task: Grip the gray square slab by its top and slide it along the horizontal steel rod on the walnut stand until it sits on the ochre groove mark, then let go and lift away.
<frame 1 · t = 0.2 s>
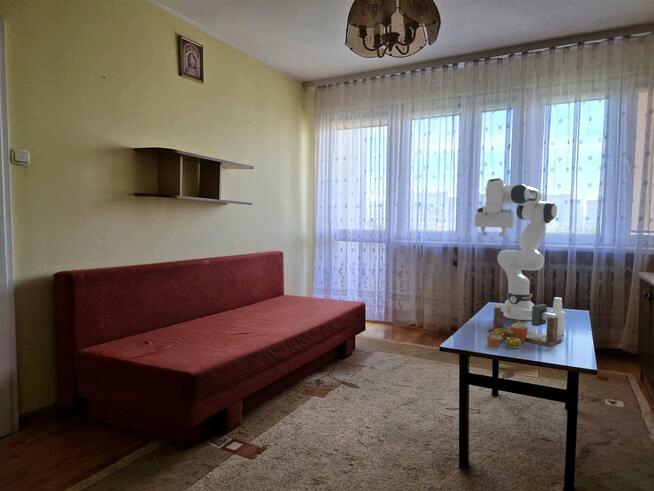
hand: (493, 236, 220), 48 cm above the table, fingers open, 8 cm apart
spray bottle: (556, 334, 209), on the table
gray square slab: (539, 314, 196), point 12 cm above the table, slide at 7.0 cm
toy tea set: (506, 343, 192), on the table, touching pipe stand
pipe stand: (523, 336, 202), on the table
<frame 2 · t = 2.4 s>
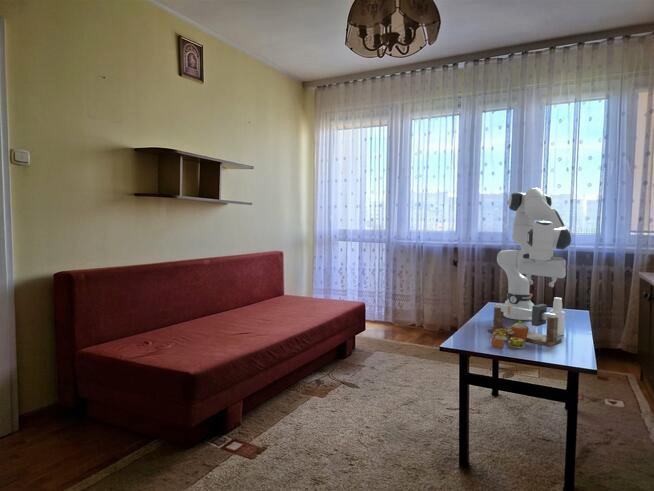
hand: (540, 285, 195), 26 cm above the table, fingers open, 8 cm apart
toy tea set: (508, 344, 192), on the table, touching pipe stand
everything else where it was.
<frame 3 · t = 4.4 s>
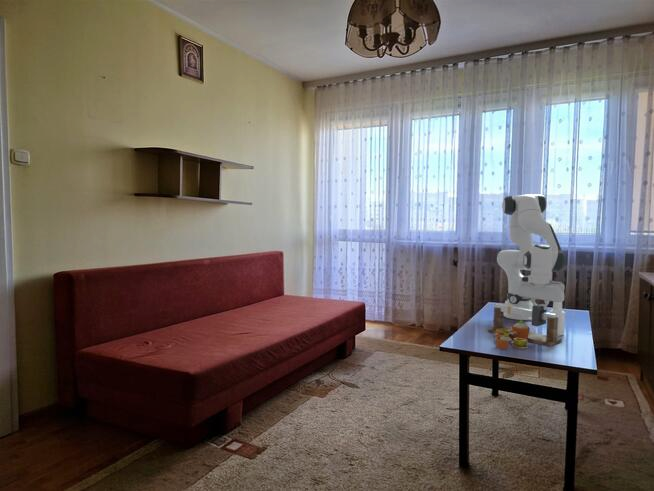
hand: (539, 308, 196), 15 cm above the table, fingers closed on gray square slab, 2 cm apart
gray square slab: (539, 314, 196), point 12 cm above the table, slide at 7.0 cm, touching gripper
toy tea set: (510, 344, 192), on the table, touching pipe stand
everything else where it was.
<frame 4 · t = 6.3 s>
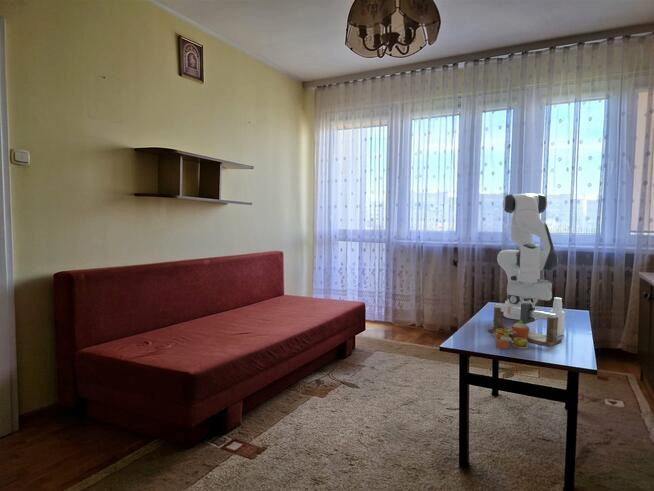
hand: (528, 306, 200), 15 cm above the table, fingers closed on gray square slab, 3 cm apart
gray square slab: (527, 312, 200), point 12 cm above the table, slide at 1.6 cm, touching gripper, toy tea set
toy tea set: (510, 344, 192), on the table, touching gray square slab, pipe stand
everything else where it was.
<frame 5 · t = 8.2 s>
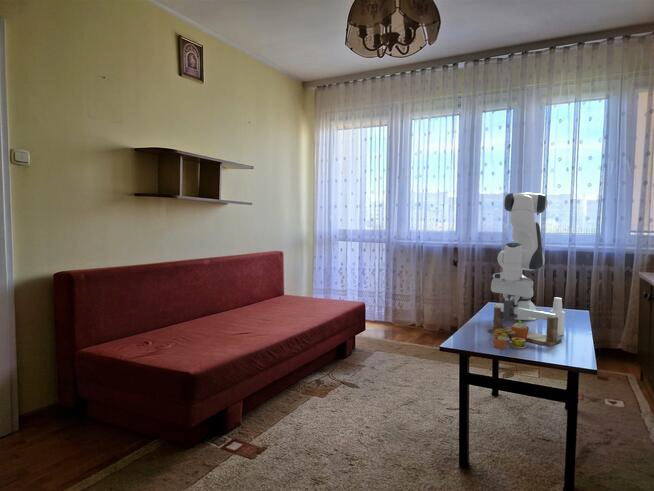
hand: (510, 303, 207), 15 cm above the table, fingers closed on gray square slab, 2 cm apart
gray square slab: (510, 309, 207), point 12 cm above the table, slide at -6.9 cm, touching gripper
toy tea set: (509, 344, 192), on the table, touching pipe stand
everything else where it was.
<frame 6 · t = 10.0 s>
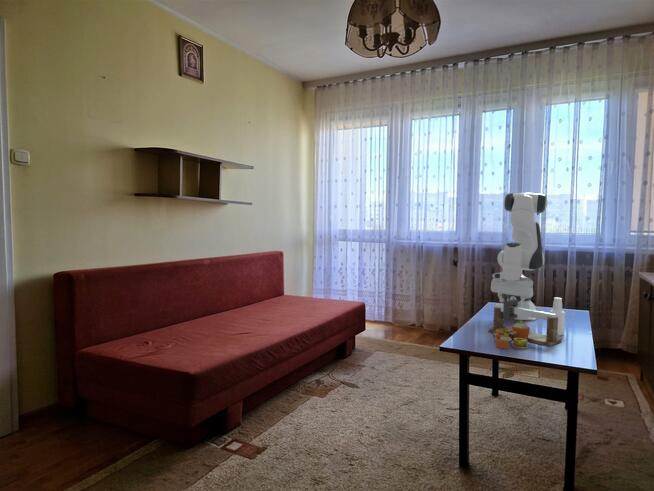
hand: (510, 303, 207), 15 cm above the table, fingers open, 8 cm apart
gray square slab: (510, 309, 207), point 12 cm above the table, slide at -7.0 cm
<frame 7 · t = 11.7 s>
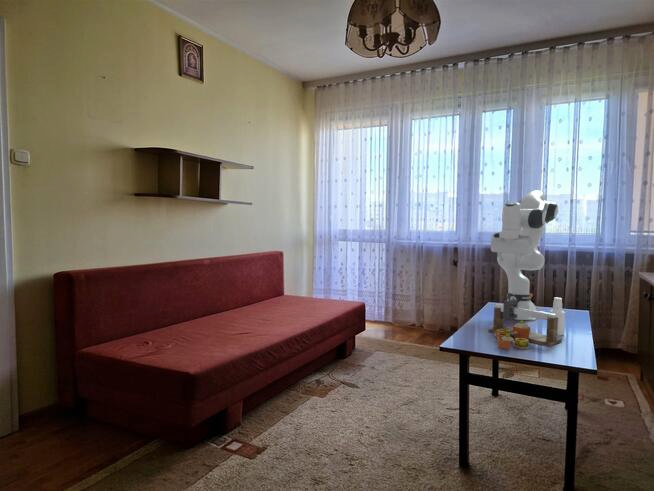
hand: (510, 262, 212), 35 cm above the table, fingers open, 8 cm apart
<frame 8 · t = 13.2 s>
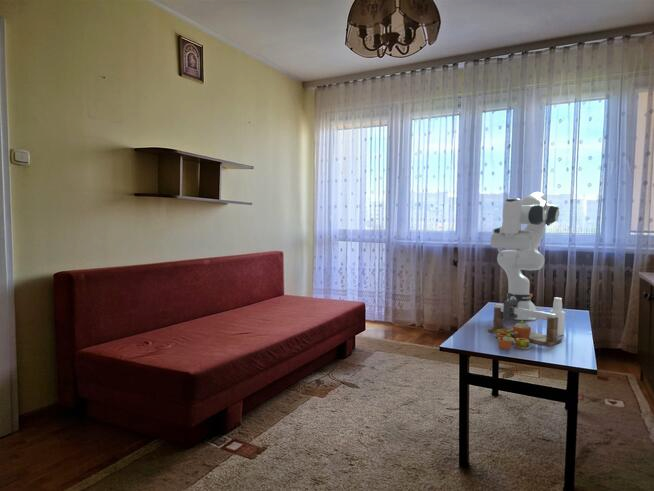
hand: (510, 257, 214), 37 cm above the table, fingers open, 8 cm apart
at the end: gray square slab slide at -7.0 cm; the gripper is holding nothing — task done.
